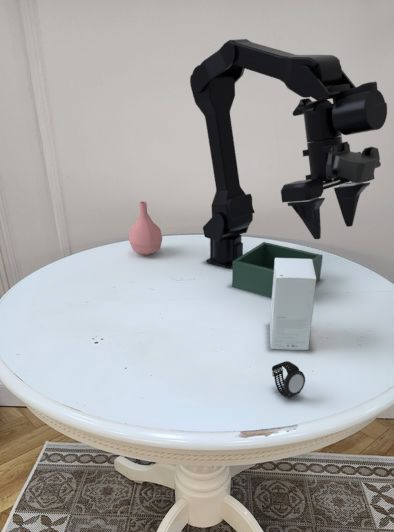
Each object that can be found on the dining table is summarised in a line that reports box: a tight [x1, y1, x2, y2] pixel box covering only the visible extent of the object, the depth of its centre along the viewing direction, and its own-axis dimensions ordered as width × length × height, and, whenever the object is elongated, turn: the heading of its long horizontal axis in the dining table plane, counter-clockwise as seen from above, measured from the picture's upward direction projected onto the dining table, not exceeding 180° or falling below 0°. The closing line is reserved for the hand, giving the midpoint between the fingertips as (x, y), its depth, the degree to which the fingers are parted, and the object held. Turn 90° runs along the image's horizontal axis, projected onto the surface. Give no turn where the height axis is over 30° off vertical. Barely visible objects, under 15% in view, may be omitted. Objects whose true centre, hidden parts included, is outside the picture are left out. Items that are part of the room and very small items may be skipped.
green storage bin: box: [231, 241, 324, 299], centre depth 108 cm, size 14×13×6 cm
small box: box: [269, 258, 317, 351], centre depth 88 cm, size 8×6×13 cm
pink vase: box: [128, 201, 163, 256], centre depth 121 cm, size 8×8×12 cm
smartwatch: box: [271, 360, 306, 399], centre depth 77 cm, size 4×5×5 cm
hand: (333, 232), depth 94 cm, fingers open, 9 cm apart
